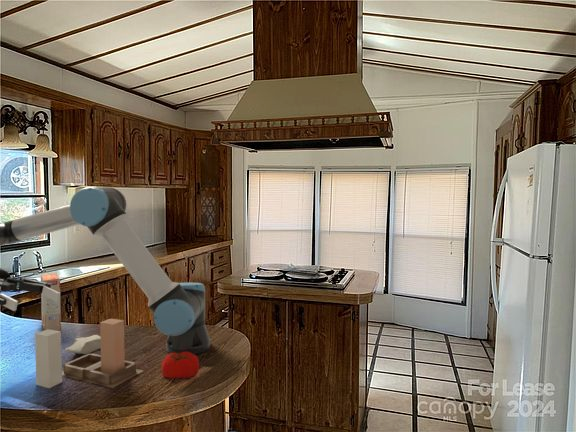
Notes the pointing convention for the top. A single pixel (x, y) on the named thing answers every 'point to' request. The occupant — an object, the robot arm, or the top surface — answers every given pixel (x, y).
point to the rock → (85, 345)
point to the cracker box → (51, 304)
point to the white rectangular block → (48, 358)
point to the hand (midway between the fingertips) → (38, 301)
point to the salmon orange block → (112, 345)
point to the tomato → (180, 365)
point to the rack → (98, 371)
